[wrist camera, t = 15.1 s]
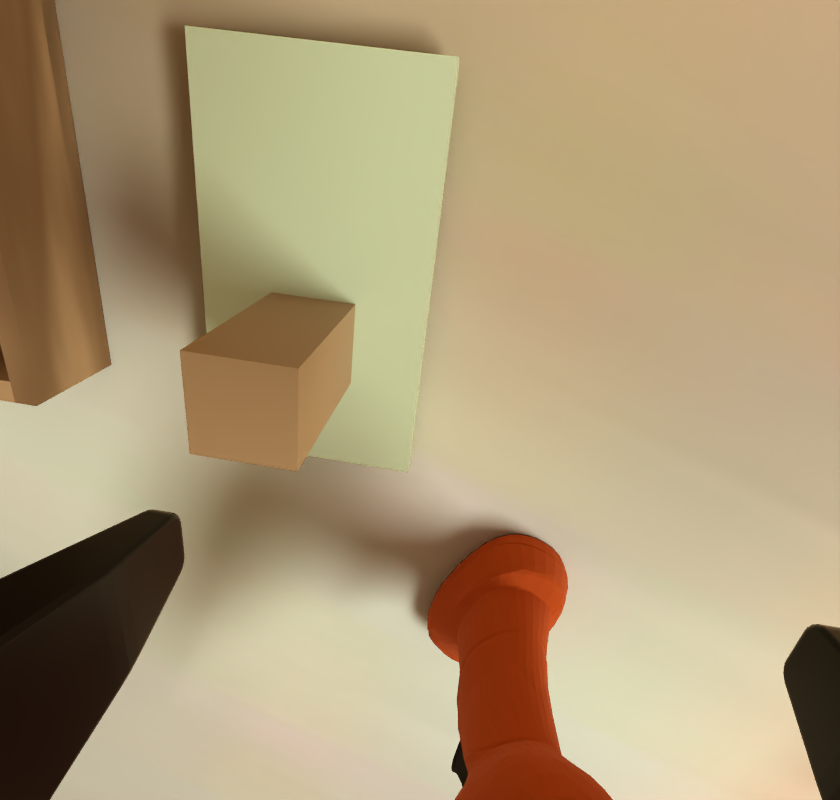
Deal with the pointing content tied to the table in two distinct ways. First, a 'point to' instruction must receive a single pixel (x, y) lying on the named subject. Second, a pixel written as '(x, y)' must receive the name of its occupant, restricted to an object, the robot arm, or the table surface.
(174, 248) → the table surface
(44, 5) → the tan wooden t-shaped piece
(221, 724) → the table surface
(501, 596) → the toy drill
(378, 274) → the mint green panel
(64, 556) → the robot arm
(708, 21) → the table surface
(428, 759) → the table surface
